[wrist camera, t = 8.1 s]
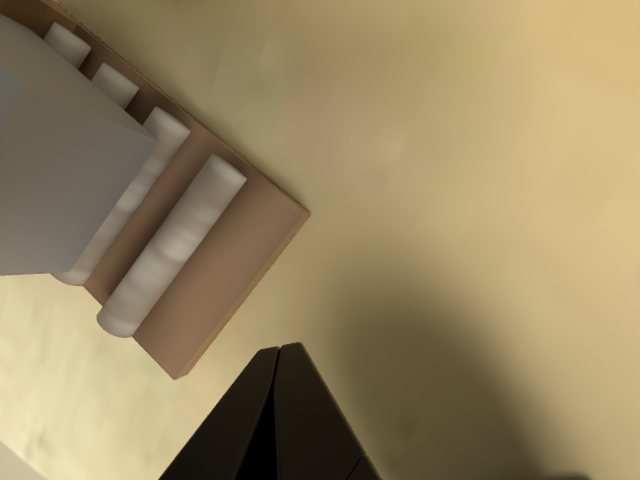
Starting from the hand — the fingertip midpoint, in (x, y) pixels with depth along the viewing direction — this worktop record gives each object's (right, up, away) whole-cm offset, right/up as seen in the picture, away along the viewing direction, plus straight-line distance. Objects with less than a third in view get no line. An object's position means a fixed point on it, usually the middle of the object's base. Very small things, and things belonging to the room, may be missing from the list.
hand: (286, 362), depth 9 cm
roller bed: (-11, +6, +17) cm, 21 cm away
